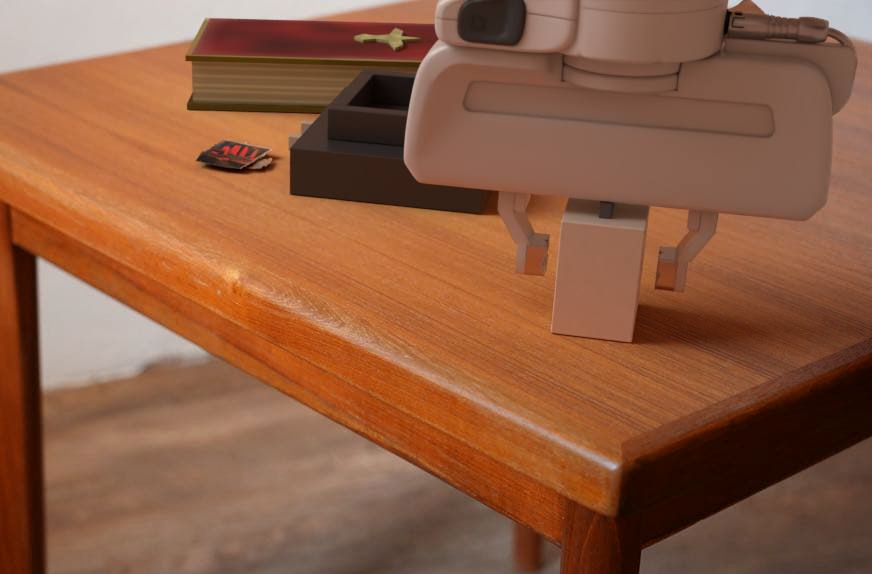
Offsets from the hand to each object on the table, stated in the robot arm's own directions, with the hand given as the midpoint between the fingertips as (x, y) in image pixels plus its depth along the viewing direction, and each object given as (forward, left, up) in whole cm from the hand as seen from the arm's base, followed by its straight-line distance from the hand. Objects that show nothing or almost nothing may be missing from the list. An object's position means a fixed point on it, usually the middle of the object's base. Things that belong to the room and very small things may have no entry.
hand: (599, 279), depth 73 cm
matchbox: (+25, -18, -2) cm, 31 cm away
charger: (0, 0, -2) cm, 2 cm away
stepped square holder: (+14, -20, -2) cm, 25 cm away
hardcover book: (+23, -36, -2) cm, 43 cm away
